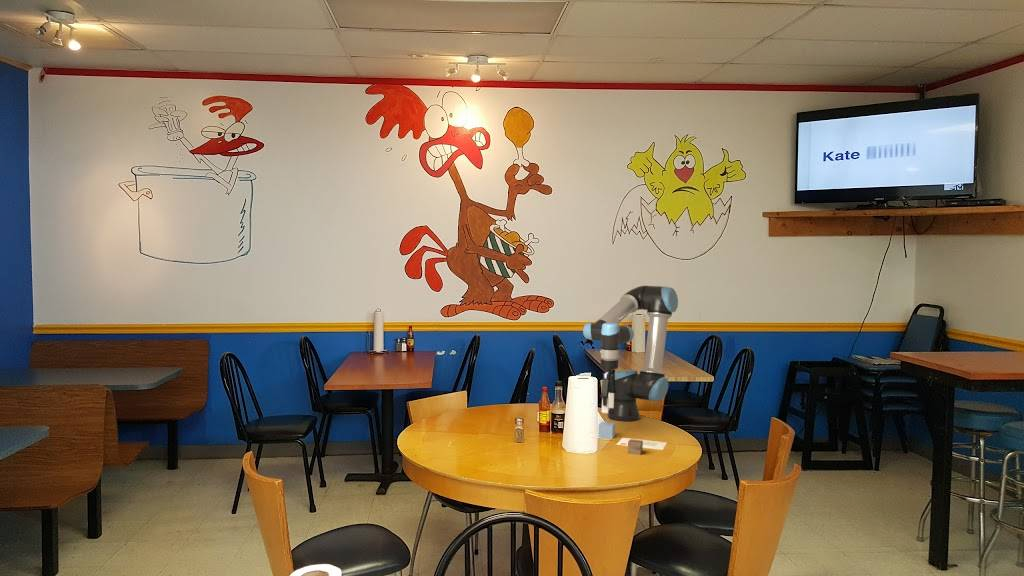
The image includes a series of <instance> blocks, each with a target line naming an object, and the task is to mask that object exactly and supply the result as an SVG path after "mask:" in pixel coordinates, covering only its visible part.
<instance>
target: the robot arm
mask: <svg viewBox="0 0 1024 576" xmlns="http://www.w3.org/2000/svg"><path fill="white" fill-rule="evenodd" d="M678 297H679V296H678V295H677V292H676V291H675V289H674V288H672V287H670V286H660V285H659V286H658V285H657V286H655V285H654V286H653V285H640V286H637V287H634V288H632V289H630V290H628V291H626V292H625V293H624V294H623V295H622V296H621V297H620V299H619V301H618V302H617V303H616V304H615V305H613V307H611V308H610V309H609V310H608V311H606V312H605V313H604V314H603V315H602V316H601V317H600V318H598V319H597V320H596V321H595V322H593V323H592V322H588V323H585V324H584V326H583V328H582V333H583V335H582V336H583V337H584V338H585V340H589V341H597V342H600V343H601V344H600V345H601V346H600V350H599V354H600V358H601V359H600V368H601V369H603V370H604V372H603V373H602V382H601V392H600V393H601V394H600V395H599V397H600V398H601V413H603V414H607V418H608V417H609V418H608V419H610V420H613V421H618V422H619V421H620V422H635V421H638V420H640V411H639V408H638V405H637V399H638V400H644V401H650V402H661V401H662V400H663V399H664V398H665V397H666V395H667V393H668V390H669V380H668V378H666V377H665V376H666V373H665V372H664V370H663V366H664V365H663V364H664V355H665V348H666V347H665V346H666V338H667V330H668V321H669V319H670V318H671V317H673V316H672V315H673V313H675V312H677V310H678V306H679V299H678ZM639 310H640V311H641V310H645V311H646V314H647V316H648V317H649V318H648V319H649V320H648V321H649V322H648V327H647V328H648V329H647V337H646V345H645V354H644V363H643V367H642V368H641V369H639V373H638V370H637V369H623V370H621V369H619V370H617V369H618V368H619V360H618V359H619V355H620V354H619V347H620V346H619V345H621V344H626V343H627V344H628V343H630V342H631V341H632V340H633V339H634V337H635V333H634V330H633V328H632V327H631V326H630V325H620V323H621V322H622V321H624V320H625V318H627V317H628V316H629V315H630V314H633V313H635V312H637V311H639Z"/></svg>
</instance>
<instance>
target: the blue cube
mask: <svg viewBox="0 0 1024 576" xmlns="http://www.w3.org/2000/svg"><path fill="white" fill-rule="evenodd" d="M598 437H599V439H610V440H613V439H614V438H615V437H616V422H608V421H601V422H600V423H598Z"/></svg>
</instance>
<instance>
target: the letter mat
mask: <svg viewBox="0 0 1024 576" xmlns="http://www.w3.org/2000/svg"><path fill="white" fill-rule="evenodd" d="M630 439H631V438H627V437H622V438H620V440H619V441H618V442H616V446H617V445H618V446H625V447H626V446H627V447H628V441H629V440H630ZM633 439H634V440H640V439H636V438H633ZM642 440H643V449H652V450H660V451H662V450H664V448H665V447H666V445H667V442H663V441H657V440H656V441H655V440H646V439H642Z"/></svg>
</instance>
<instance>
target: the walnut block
mask: <svg viewBox="0 0 1024 576" xmlns="http://www.w3.org/2000/svg"><path fill="white" fill-rule="evenodd" d="M634 439H635V438H630V440H629V441H628V446H627V454H628V455H629V454H630V455H638V456H640V455H641V454H642V453H643V450H644V448H643V440H644V439H639V440H634Z"/></svg>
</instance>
